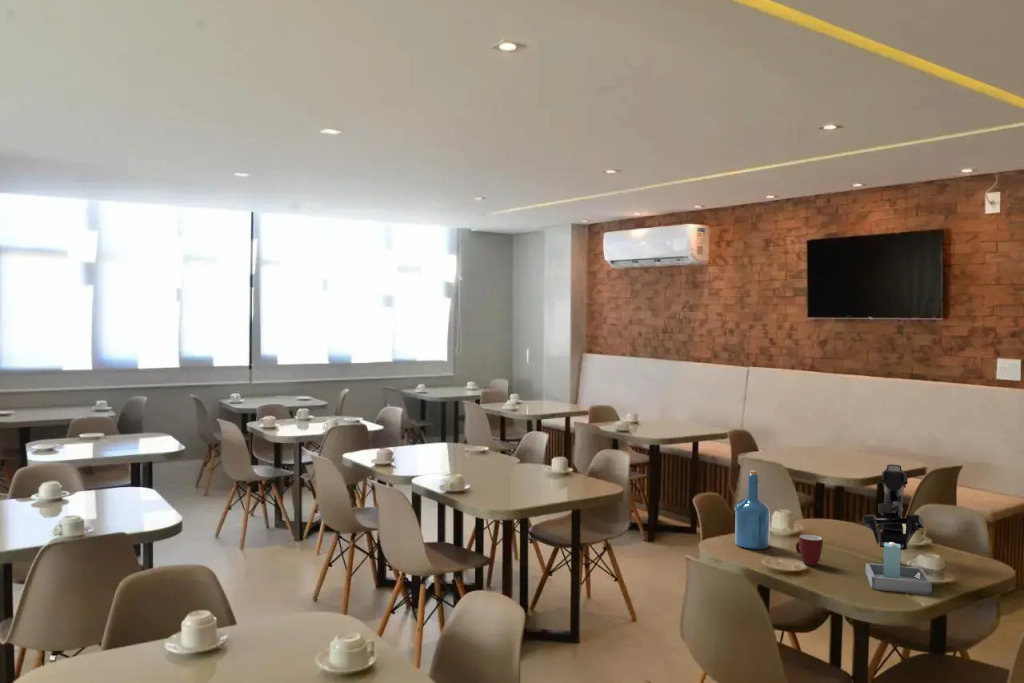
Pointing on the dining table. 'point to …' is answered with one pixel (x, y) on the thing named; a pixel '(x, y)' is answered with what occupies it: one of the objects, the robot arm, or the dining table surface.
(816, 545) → the mug
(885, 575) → the carton
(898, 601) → the dining table surface
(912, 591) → the gray square tray
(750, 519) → the wine bottle
